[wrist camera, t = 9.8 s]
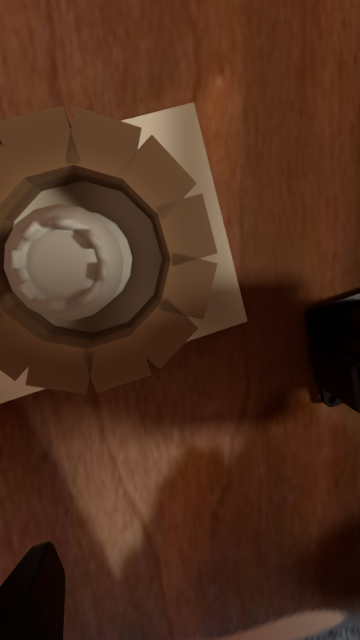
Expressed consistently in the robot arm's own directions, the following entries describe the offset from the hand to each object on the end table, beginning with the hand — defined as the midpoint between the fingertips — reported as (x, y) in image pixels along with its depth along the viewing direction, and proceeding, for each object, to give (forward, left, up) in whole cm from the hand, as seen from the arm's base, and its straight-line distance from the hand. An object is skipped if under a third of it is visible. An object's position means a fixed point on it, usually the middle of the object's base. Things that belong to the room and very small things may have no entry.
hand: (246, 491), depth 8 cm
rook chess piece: (+3, -6, -11) cm, 13 cm away
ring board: (+3, -6, -12) cm, 14 cm away
